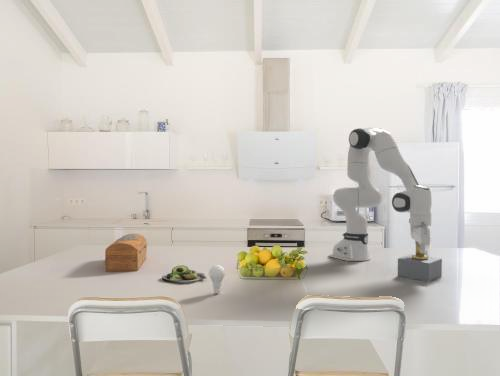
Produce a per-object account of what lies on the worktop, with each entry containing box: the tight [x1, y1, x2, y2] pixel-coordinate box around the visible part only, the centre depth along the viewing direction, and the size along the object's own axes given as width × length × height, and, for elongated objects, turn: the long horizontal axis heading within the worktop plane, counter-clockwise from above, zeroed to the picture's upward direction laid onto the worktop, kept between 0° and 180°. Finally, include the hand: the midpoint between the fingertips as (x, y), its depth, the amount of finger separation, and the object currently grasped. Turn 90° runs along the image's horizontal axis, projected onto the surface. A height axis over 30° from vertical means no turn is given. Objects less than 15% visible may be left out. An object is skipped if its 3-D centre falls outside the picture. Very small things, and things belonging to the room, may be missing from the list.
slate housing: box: [397, 253, 443, 282], centre depth 180 cm, size 14×14×8 cm
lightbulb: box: [208, 264, 226, 294], centre depth 151 cm, size 6×6×11 cm
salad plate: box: [161, 265, 208, 285], centre depth 174 cm, size 19×18×5 cm
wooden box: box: [104, 233, 148, 273], centre depth 201 cm, size 30×16×14 cm, turn 5°
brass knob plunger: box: [412, 244, 428, 260], centre depth 180 cm, size 7×7×14 cm
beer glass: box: [424, 238, 432, 257], centre depth 196 cm, size 7×7×15 cm
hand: (419, 251), depth 180 cm, fingers open, 5 cm apart
